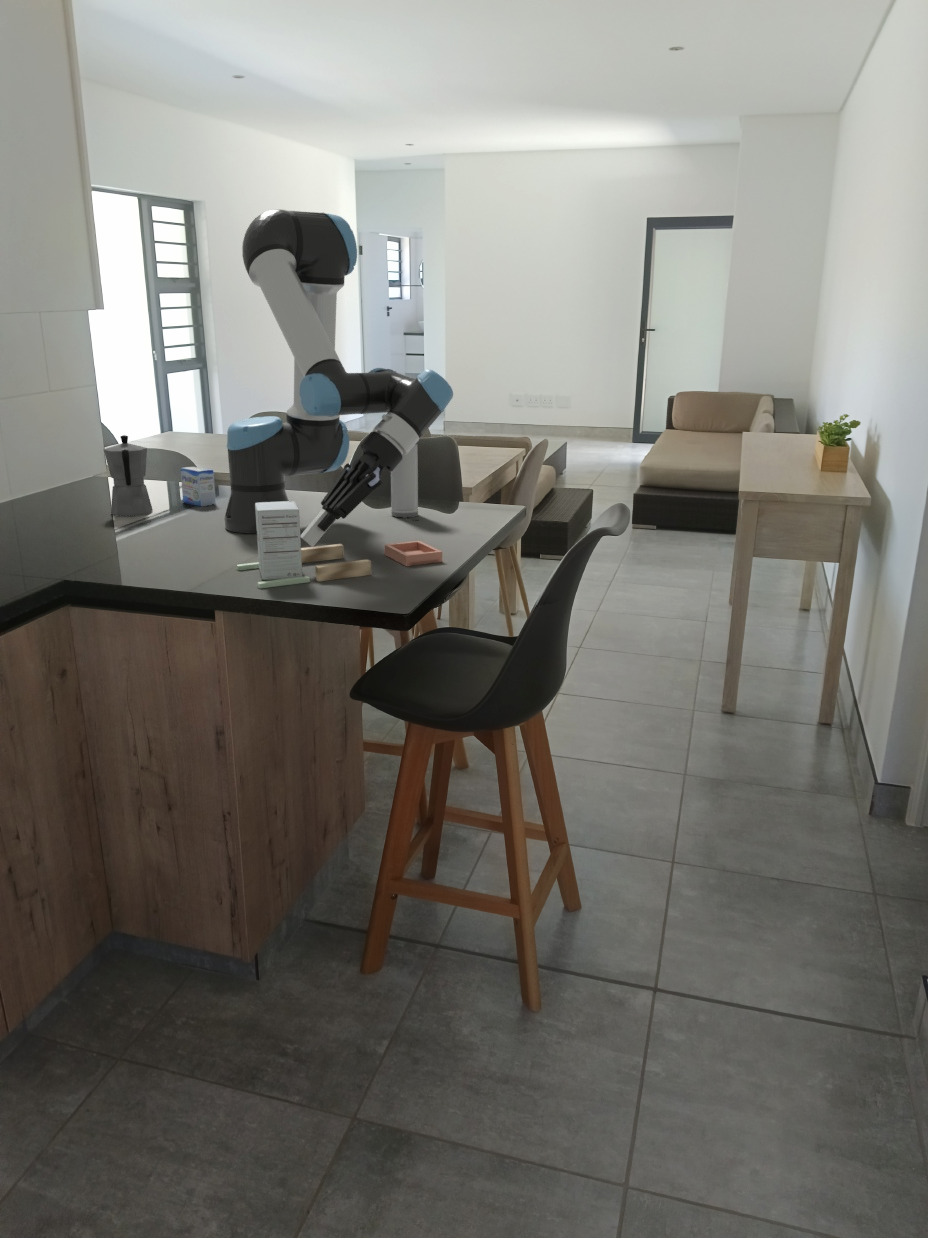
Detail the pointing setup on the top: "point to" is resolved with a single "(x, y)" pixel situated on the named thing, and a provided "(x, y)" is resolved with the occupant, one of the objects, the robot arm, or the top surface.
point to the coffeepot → (128, 479)
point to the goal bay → (273, 582)
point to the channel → (334, 569)
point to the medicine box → (198, 486)
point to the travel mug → (405, 486)
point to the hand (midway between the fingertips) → (306, 541)
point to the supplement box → (278, 540)
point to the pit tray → (413, 553)
